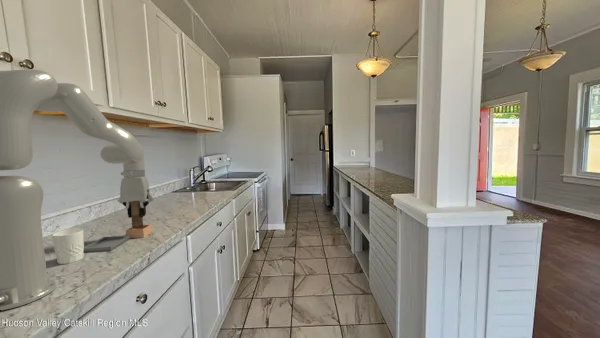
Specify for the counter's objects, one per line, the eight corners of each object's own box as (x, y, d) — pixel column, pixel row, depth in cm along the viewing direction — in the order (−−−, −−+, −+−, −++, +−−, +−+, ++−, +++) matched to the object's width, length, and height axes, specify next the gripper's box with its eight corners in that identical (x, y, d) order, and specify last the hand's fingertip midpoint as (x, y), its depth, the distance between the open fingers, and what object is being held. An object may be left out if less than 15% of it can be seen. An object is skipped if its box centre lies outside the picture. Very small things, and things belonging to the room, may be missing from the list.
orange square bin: (143, 238, 105) (143, 229, 105) (126, 239, 104) (125, 230, 104) (152, 233, 112) (151, 224, 112) (135, 233, 111) (135, 225, 111)
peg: (140, 228, 105) (138, 200, 105) (130, 228, 105) (128, 200, 104) (145, 225, 109) (143, 198, 109) (135, 226, 109) (133, 199, 108)
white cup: (67, 266, 81) (64, 236, 80) (48, 264, 83) (45, 235, 82) (91, 255, 89) (89, 228, 88) (74, 254, 90) (71, 227, 90)
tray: (111, 252, 92) (110, 246, 92) (82, 253, 91) (81, 248, 91) (130, 240, 104) (129, 235, 103) (104, 241, 103) (104, 236, 102)
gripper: (107, 175, 101) (110, 219, 102) (150, 174, 103) (153, 218, 104) (119, 174, 109) (121, 215, 110) (159, 173, 110) (161, 213, 111)
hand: (137, 216), depth 107 cm, fingers closed on peg, 4 cm apart
